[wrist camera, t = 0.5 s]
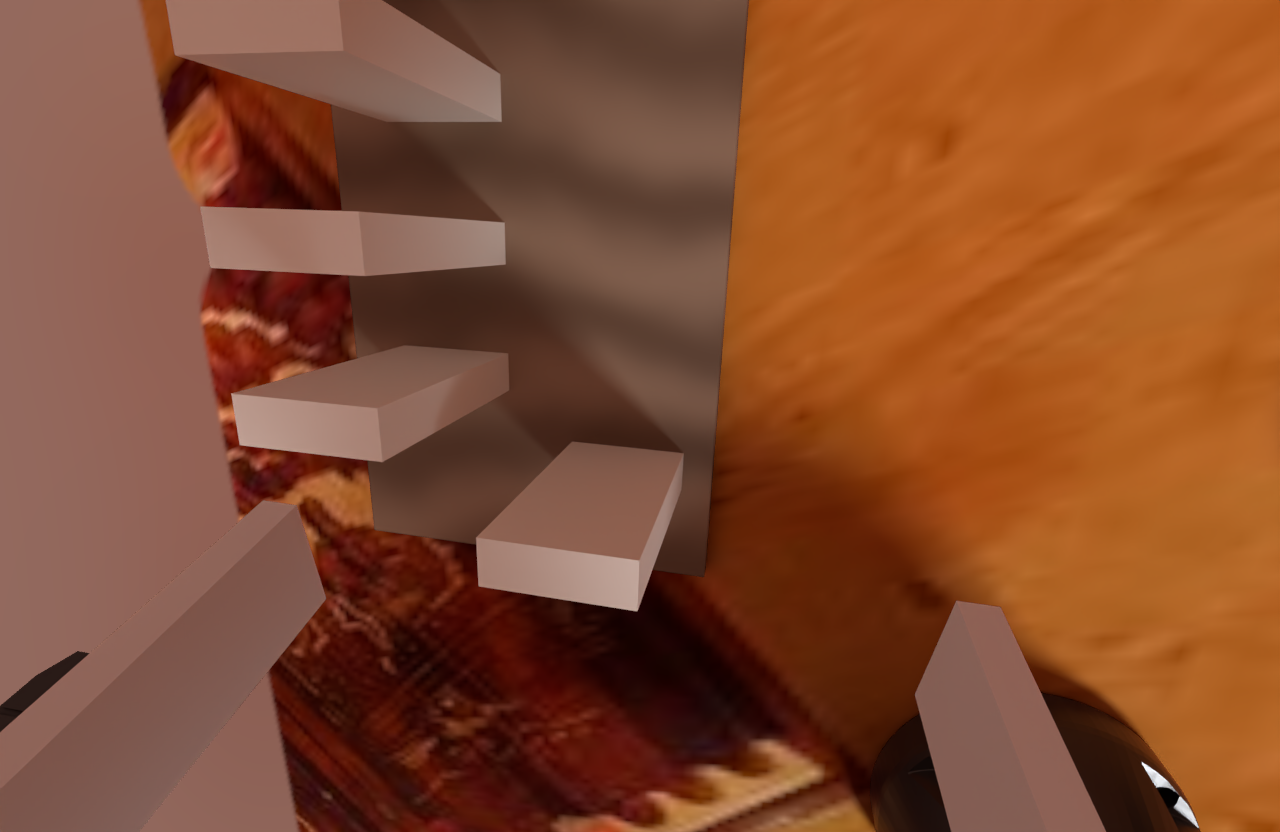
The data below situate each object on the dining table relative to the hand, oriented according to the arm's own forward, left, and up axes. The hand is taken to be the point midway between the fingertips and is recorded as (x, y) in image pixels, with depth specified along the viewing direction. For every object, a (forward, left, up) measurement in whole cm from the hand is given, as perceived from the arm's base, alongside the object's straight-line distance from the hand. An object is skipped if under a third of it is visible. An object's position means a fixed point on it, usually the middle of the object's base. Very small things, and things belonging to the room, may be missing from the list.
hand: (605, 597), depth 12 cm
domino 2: (+7, +13, -18) cm, 24 cm away
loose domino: (-4, +4, -18) cm, 19 cm away
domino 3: (0, +13, -18) cm, 23 cm away
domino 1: (+13, +13, -18) cm, 26 cm away
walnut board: (+10, +9, -19) cm, 24 cm away
